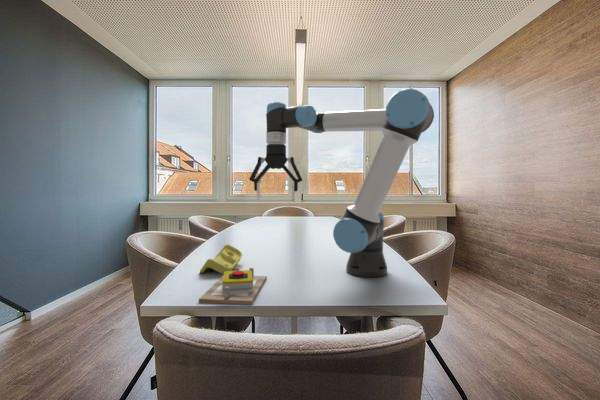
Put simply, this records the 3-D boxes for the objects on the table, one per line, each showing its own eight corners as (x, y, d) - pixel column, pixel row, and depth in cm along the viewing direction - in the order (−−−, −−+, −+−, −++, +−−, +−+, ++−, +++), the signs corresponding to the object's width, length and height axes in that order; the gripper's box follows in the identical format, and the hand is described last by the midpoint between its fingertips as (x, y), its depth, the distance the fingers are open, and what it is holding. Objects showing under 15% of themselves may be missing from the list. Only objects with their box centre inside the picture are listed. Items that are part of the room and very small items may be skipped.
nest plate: (224, 277, 111) (224, 266, 111) (266, 278, 110) (266, 267, 110) (198, 302, 88) (198, 288, 88) (252, 304, 87) (252, 290, 87)
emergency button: (221, 279, 91) (223, 265, 106) (221, 294, 91) (223, 278, 106) (254, 277, 93) (251, 264, 108) (254, 292, 93) (251, 277, 108)
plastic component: (230, 269, 113) (205, 256, 114) (222, 286, 115) (197, 274, 115) (245, 253, 133) (224, 242, 133) (238, 268, 134) (217, 257, 134)
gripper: (241, 143, 119) (241, 199, 120) (308, 143, 117) (307, 200, 118) (246, 145, 126) (246, 198, 127) (309, 145, 124) (308, 199, 126)
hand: (275, 199), depth 123 cm, fingers open, 13 cm apart
